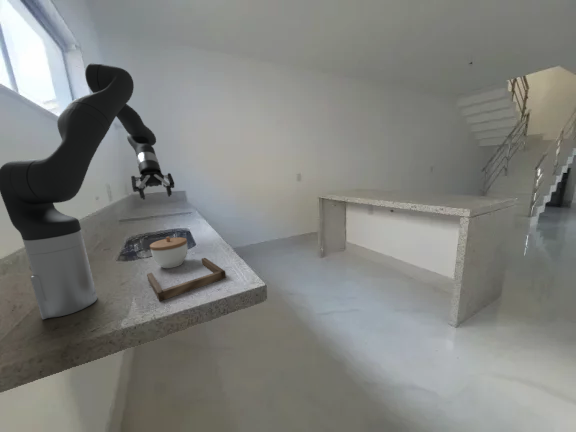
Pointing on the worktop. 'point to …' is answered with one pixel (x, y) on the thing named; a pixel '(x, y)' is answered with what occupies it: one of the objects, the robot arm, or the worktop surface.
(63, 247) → the robot arm
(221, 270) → the walnut bay
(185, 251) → the lidded jar
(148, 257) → the worktop surface
